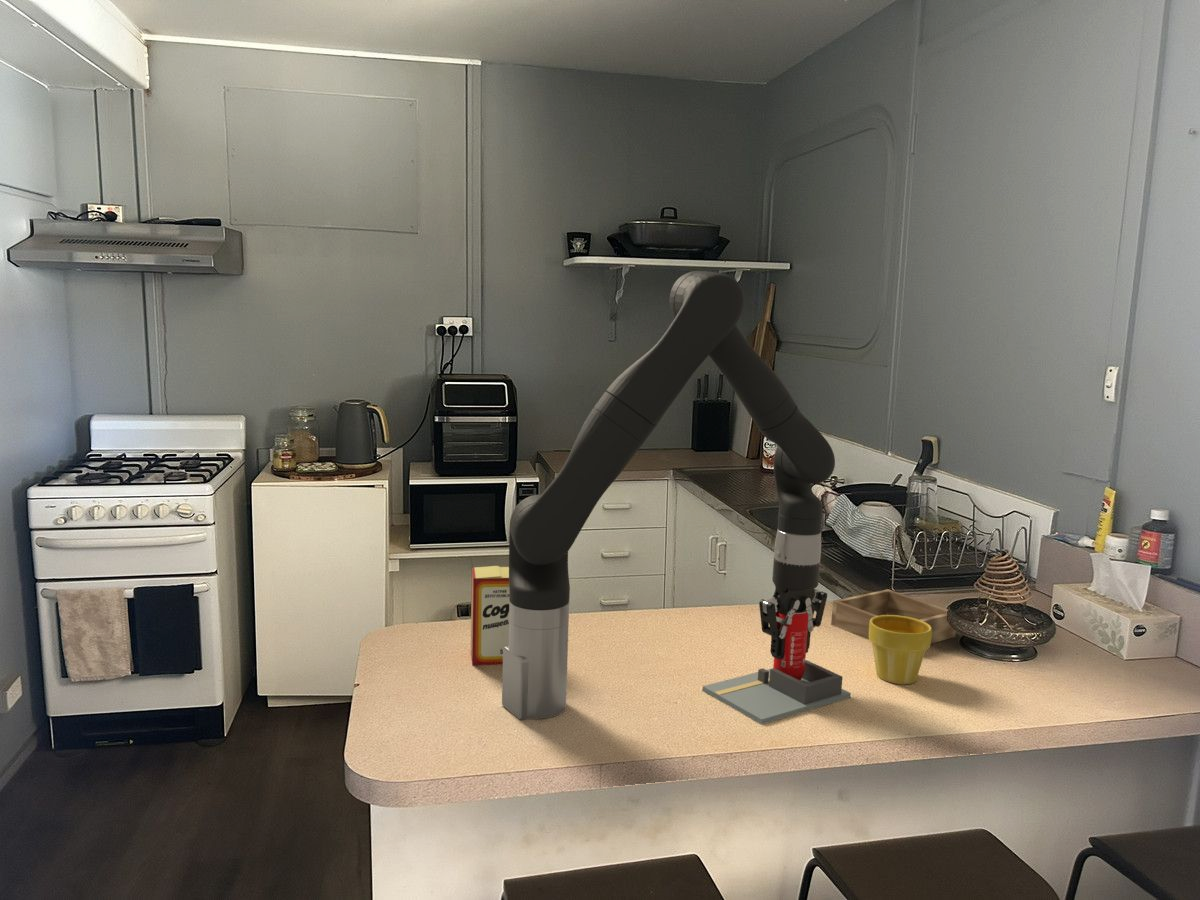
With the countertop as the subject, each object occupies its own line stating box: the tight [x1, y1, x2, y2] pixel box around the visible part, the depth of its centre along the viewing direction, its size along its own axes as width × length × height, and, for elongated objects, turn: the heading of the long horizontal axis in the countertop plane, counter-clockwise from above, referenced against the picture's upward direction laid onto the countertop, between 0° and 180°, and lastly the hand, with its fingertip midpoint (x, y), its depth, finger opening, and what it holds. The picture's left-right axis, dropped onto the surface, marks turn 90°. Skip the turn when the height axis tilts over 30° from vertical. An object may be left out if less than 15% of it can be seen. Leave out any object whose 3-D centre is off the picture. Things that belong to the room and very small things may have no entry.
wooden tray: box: [830, 589, 957, 644], centre depth 181 cm, size 17×17×5 cm
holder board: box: [702, 659, 852, 725], centre depth 148 cm, size 20×14×4 cm
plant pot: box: [869, 614, 932, 685], centre depth 157 cm, size 10×10×10 cm
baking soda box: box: [470, 565, 510, 666], centre depth 159 cm, size 10×6×16 cm
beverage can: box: [772, 610, 809, 680], centre depth 151 cm, size 5×5×12 cm
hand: (789, 654), depth 151 cm, fingers closed on beverage can, 5 cm apart
